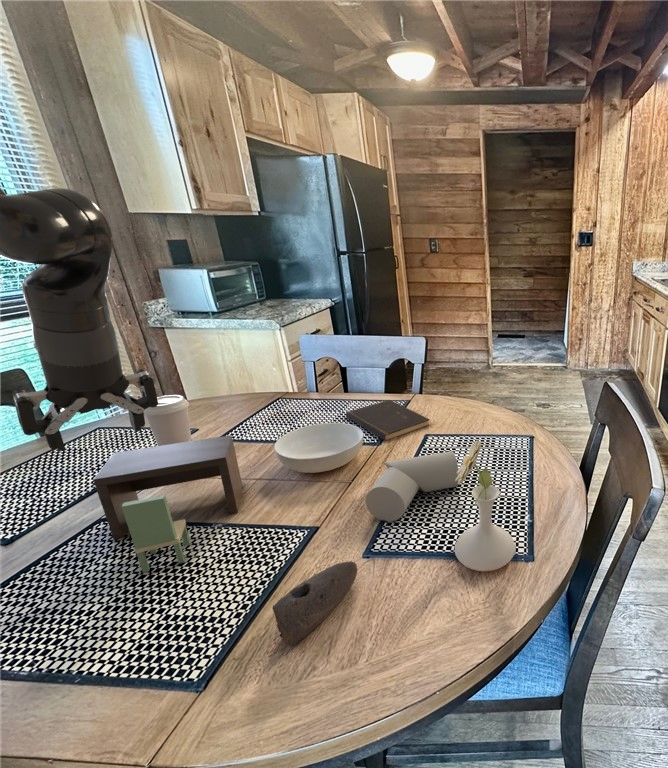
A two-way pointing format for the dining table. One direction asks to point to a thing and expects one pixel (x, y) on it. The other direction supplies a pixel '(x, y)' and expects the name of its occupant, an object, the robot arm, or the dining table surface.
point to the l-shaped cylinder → (410, 483)
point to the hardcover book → (388, 419)
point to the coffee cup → (169, 420)
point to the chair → (154, 528)
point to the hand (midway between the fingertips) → (100, 437)
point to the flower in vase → (483, 524)
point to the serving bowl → (319, 447)
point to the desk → (165, 474)
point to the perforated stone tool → (312, 601)
